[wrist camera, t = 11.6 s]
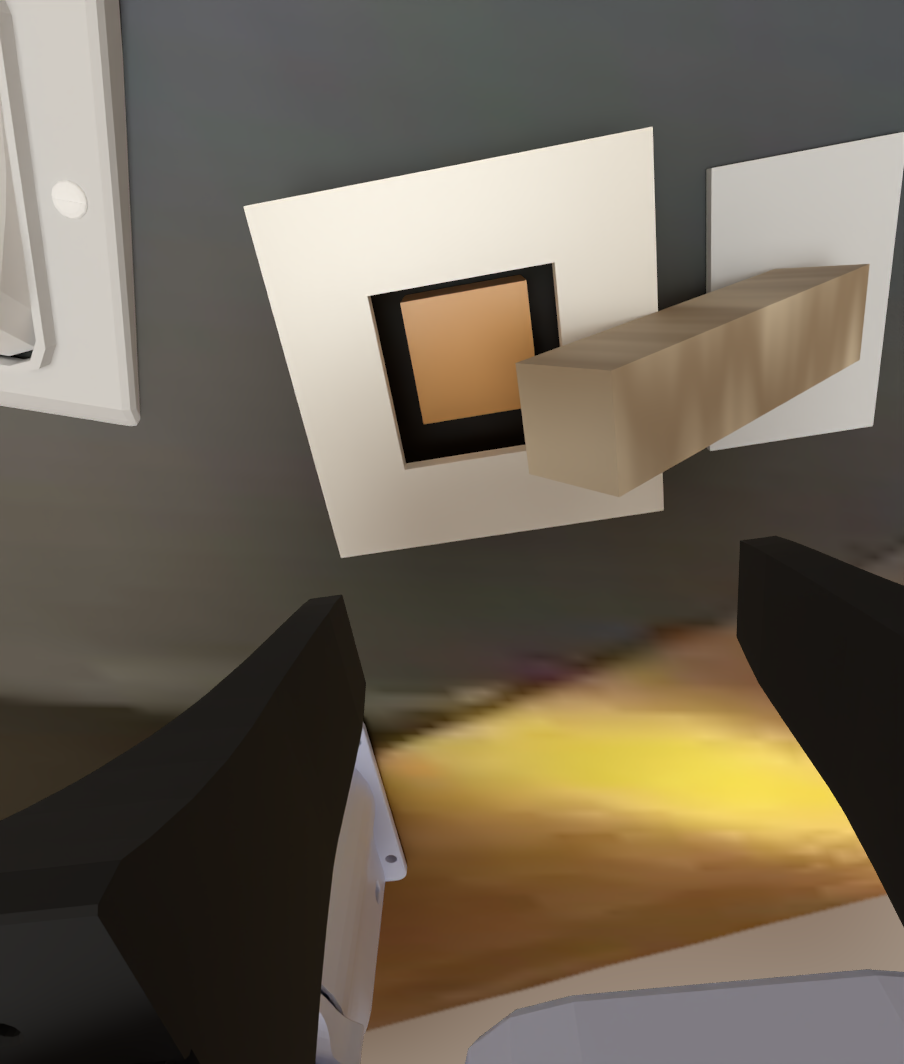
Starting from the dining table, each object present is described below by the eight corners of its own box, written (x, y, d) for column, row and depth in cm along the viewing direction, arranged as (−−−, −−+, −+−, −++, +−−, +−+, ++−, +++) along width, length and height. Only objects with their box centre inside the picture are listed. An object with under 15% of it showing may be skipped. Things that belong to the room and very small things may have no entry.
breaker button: (533, 389, 20) (540, 405, 19) (426, 408, 20) (423, 424, 19) (520, 274, 19) (526, 280, 17) (405, 295, 19) (400, 302, 17)
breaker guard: (628, 459, 21) (663, 510, 18) (360, 500, 22) (341, 558, 18) (611, 144, 17) (652, 127, 14) (286, 207, 18) (243, 206, 14)
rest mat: (865, 422, 21) (873, 426, 20) (705, 446, 21) (709, 451, 21) (898, 133, 17) (907, 131, 17) (706, 168, 18) (711, 167, 17)
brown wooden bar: (859, 359, 17) (618, 496, 12) (771, 355, 19) (529, 474, 14) (869, 263, 16) (611, 370, 11) (774, 268, 18) (515, 362, 13)
